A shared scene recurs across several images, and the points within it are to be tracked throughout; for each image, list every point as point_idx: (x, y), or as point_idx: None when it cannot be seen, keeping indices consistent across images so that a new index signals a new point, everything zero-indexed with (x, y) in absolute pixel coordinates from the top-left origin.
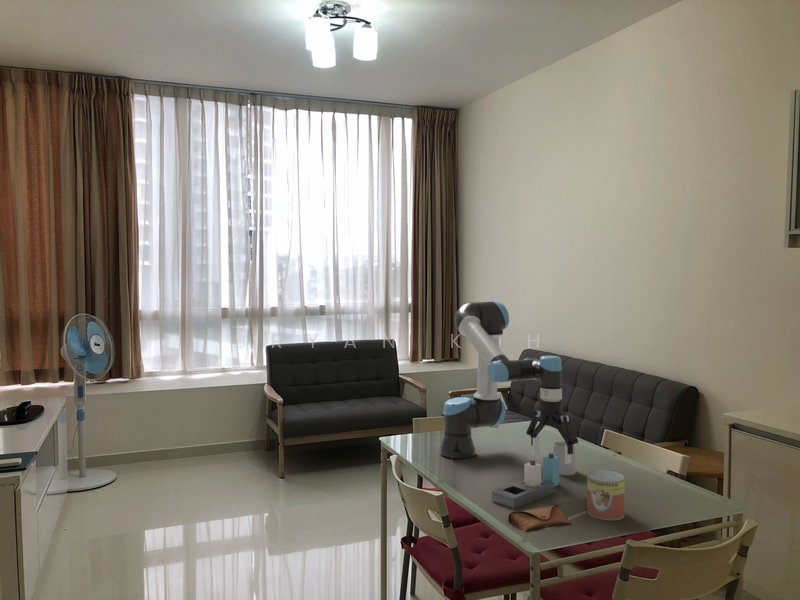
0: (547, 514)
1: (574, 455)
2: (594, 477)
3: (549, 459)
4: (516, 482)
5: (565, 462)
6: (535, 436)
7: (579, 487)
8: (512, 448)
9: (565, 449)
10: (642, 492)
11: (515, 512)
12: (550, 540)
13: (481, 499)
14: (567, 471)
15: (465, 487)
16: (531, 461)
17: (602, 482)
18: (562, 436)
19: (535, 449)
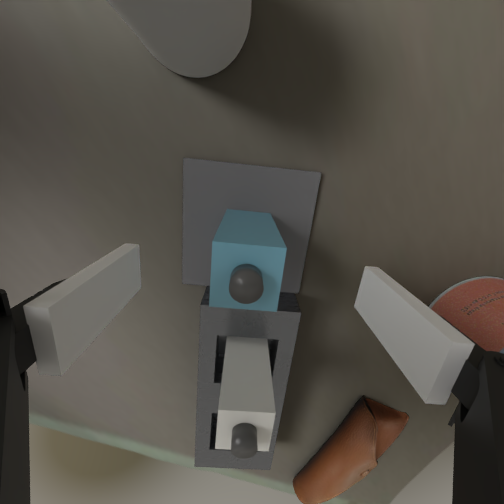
0: (371, 465)
1: None
2: None
3: (255, 308)
4: (199, 385)
5: (359, 309)
6: (23, 339)
7: (336, 170)
8: None
9: (406, 371)
10: None
11: (311, 501)
12: (394, 484)
13: (166, 430)
14: (233, 49)
15: (71, 399)
16: (245, 458)
17: None
18: (460, 495)
19: (121, 299)
